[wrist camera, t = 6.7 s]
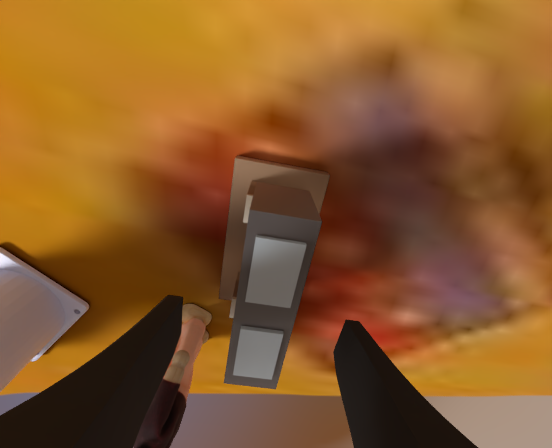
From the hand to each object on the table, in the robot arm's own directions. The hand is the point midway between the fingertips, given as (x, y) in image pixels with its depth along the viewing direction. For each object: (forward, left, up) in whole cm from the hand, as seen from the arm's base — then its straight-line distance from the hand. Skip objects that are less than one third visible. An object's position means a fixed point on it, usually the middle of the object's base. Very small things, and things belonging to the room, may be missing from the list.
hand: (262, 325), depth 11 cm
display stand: (0, 0, -9) cm, 9 cm away
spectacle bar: (0, 0, -5) cm, 5 cm away
